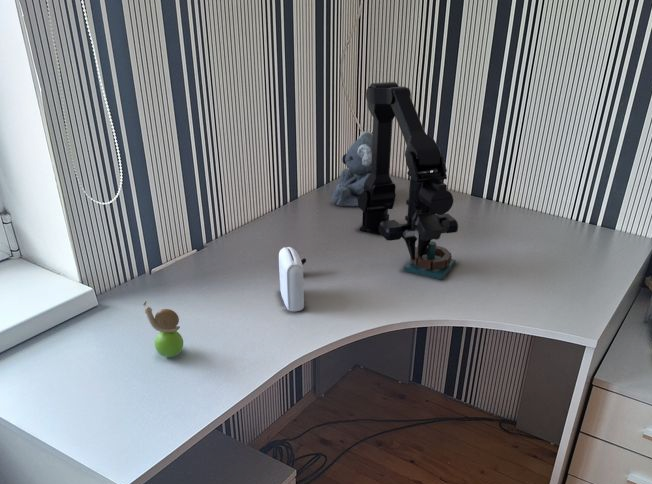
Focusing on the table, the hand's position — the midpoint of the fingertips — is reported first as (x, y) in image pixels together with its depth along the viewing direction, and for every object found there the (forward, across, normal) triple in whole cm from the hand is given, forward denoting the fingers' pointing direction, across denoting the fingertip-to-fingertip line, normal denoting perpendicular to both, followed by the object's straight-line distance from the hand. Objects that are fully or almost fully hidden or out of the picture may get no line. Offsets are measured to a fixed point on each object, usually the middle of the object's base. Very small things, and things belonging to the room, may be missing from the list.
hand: (416, 258), depth 170 cm
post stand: (+3, +4, 0) cm, 5 cm away
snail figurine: (+3, -62, -20) cm, 66 cm away
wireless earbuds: (+3, -29, +5) cm, 30 cm away
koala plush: (+3, +4, +48) cm, 48 cm away
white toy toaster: (+3, -34, -6) cm, 34 cm away
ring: (+1, +4, 0) cm, 4 cm away
